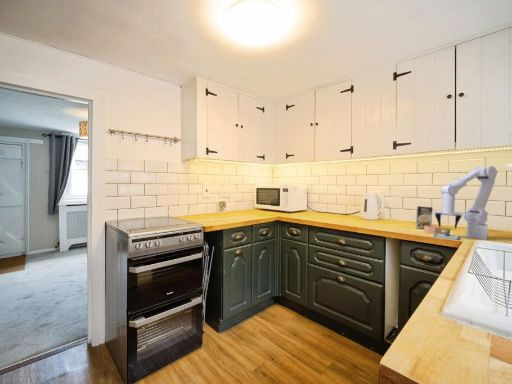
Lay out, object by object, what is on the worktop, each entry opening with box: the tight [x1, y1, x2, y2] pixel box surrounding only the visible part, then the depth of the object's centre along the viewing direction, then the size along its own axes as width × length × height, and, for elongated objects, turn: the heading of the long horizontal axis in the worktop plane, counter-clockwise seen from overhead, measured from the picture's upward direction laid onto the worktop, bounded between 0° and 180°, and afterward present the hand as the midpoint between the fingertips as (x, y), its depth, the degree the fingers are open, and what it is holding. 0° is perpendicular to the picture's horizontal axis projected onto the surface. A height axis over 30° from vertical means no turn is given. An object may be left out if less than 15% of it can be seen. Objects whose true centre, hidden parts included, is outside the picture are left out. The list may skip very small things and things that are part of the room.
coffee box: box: [415, 206, 433, 230], centre depth 181 cm, size 9×6×16 cm
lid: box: [435, 228, 459, 241], centre depth 151 cm, size 10×10×5 cm
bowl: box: [423, 224, 442, 235], centre depth 165 cm, size 9×9×4 cm
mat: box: [432, 234, 462, 241], centre depth 151 cm, size 13×12×1 cm
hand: (447, 227), depth 151 cm, fingers open, 7 cm apart
